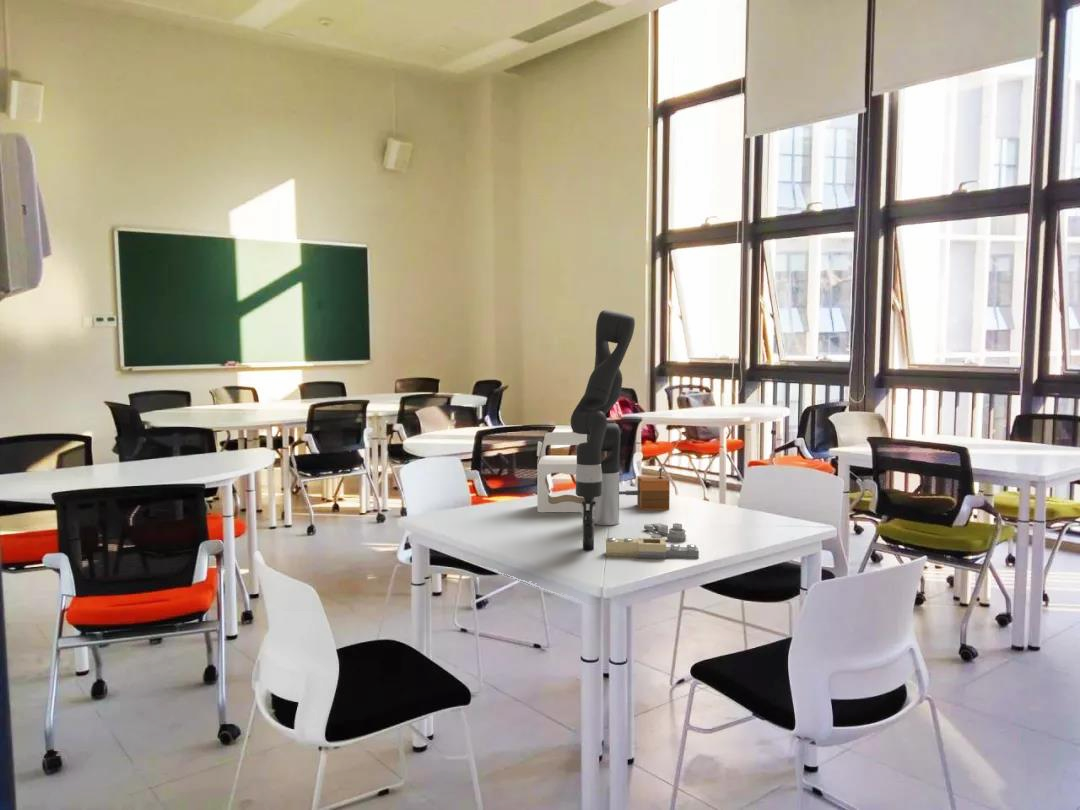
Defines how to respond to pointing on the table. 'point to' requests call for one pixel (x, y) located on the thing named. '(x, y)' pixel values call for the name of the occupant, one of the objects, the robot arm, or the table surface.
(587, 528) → the robot arm
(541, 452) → the white open frame
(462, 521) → the table surface
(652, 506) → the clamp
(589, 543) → the pin
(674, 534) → the pulley system
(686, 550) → the chain end
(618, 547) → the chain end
